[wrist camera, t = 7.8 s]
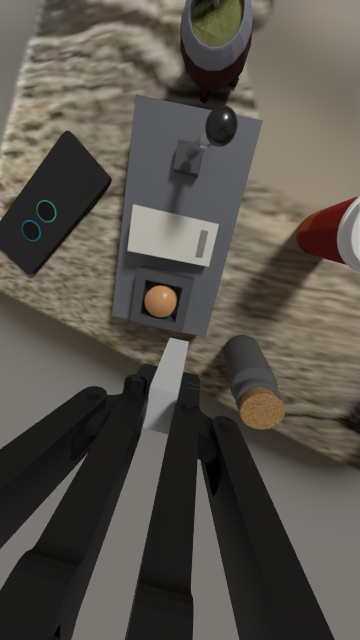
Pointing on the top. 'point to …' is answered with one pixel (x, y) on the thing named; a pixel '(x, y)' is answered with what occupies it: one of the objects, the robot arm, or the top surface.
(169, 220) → the plate
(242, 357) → the bottle
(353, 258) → the paper cup
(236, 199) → the console
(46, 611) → the robot arm
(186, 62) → the mate gourd
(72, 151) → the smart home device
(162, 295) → the push button
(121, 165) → the top surface
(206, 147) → the toggle lever
